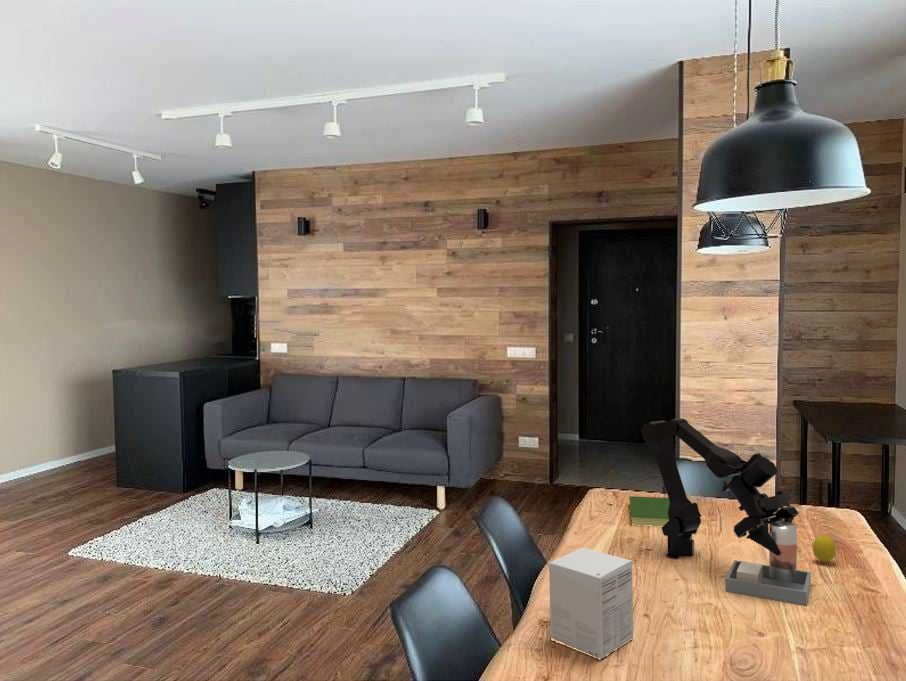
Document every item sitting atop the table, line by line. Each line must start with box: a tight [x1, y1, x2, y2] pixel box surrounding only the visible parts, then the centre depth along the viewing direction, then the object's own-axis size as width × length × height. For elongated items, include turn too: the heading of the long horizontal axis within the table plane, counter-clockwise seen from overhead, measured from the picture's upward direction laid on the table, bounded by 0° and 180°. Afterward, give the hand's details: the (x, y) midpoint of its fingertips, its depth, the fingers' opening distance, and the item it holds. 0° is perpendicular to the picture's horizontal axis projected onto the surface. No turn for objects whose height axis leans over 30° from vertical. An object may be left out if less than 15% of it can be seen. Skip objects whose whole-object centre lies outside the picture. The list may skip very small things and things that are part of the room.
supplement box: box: [548, 547, 634, 659], centre depth 151 cm, size 13×13×18 cm
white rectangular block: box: [737, 560, 763, 583], centre depth 177 cm, size 5×8×4 cm, turn 149°
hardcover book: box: [628, 495, 670, 526], centre depth 238 cm, size 25×19×4 cm
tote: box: [724, 560, 812, 606], centre depth 174 cm, size 18×14×4 cm
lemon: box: [812, 534, 837, 564], centre depth 192 cm, size 6×6×8 cm
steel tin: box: [768, 521, 798, 582], centre depth 171 cm, size 6×6×13 cm
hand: (787, 552), depth 170 cm, fingers closed on steel tin, 6 cm apart
